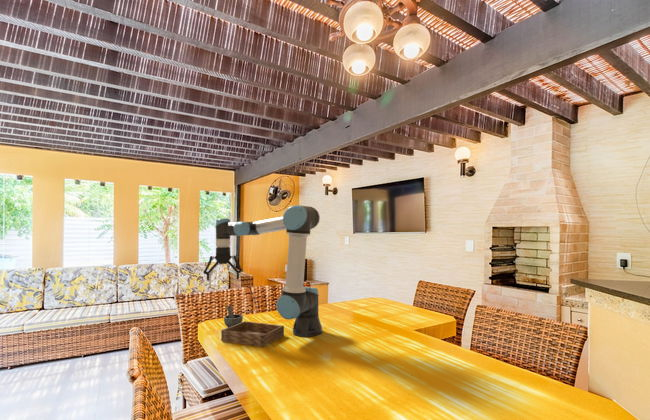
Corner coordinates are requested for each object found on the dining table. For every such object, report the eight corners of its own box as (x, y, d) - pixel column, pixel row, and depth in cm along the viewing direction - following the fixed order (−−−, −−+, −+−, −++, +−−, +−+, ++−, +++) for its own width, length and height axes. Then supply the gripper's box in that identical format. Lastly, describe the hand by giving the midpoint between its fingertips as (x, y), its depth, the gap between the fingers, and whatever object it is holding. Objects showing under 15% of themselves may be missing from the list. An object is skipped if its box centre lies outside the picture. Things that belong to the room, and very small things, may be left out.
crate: (283, 336, 175) (283, 325, 175) (262, 347, 159) (262, 336, 159) (244, 330, 185) (244, 321, 185) (221, 340, 169) (221, 330, 169)
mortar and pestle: (245, 329, 187) (245, 306, 188) (229, 333, 181) (229, 309, 182) (235, 325, 196) (235, 303, 196) (220, 328, 189) (220, 306, 190)
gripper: (246, 245, 198) (246, 283, 197) (199, 247, 192) (199, 286, 191) (246, 246, 191) (246, 285, 190) (198, 247, 184) (198, 288, 183)
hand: (223, 286), depth 190 cm, fingers open, 13 cm apart
